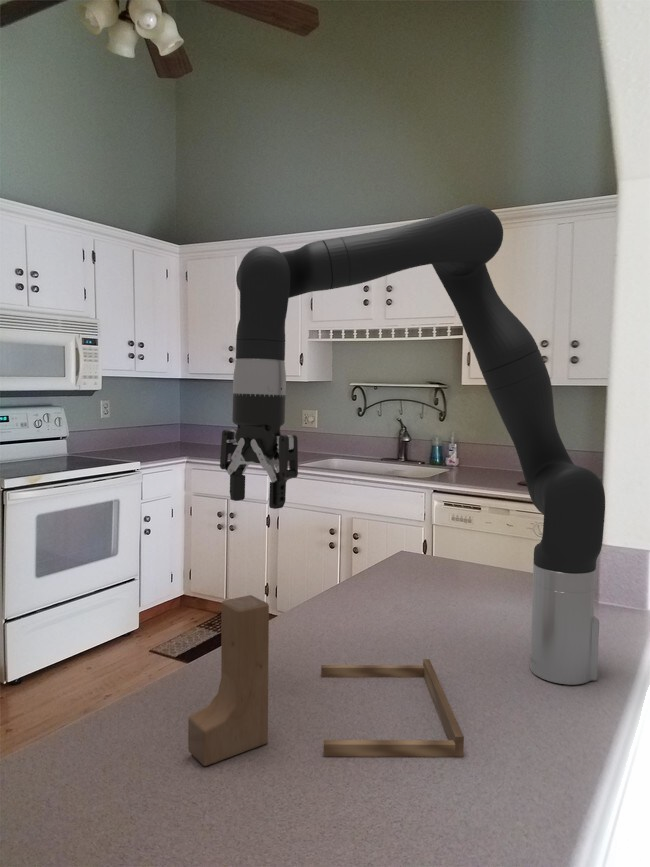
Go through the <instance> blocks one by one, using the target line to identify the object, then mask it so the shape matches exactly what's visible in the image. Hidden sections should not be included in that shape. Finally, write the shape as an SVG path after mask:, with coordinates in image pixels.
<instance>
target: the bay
mask: <svg viewBox="0 0 650 867" xmlns="http://www.w3.org/2000/svg"><path fill="white" fill-rule="evenodd" d="M320 669H321V670H320V677H321V678H424V681H425V684H426V687H427V688H428V691H429V694H430V696H431V699H432V702H433V704H434V707H435V710H436V712H437V714H438V717H439V719H440V723H441V725H442V727H443V729H444V730H443V731H444V732H445V734H446V737H447V739H444V740H443V739H437V740H435V739H431V740H430V739H425V740H424V739H423V740H421V739H416V740H415V739H412V740H411V739H405V740H404V739H396V740H395V739H387V740H386V739H323V757H361V758H362V757H370V758H371V757H373V758H374V757H376V758H377V757H385V758H386V757H397V758H398V757H399V758H400V757H403V758H404V757H406V758H407V757H410V758H411V757H412V758H414V757H420V758H421V757H423V758H424V757H426V758H427V757H428V758H429V757H435V758H436V757H438V758H439V757H443V758H444V757H446V758H447V757H449V758H450V757H452V758H454V757H455V758H456V757H457V758H459V757H461V758H462V757H464V745H465V744H464V743H465V742H464V741H465V736H464V734H463V732H462V729H461V726H460V725H459V723H458V720H457V718H456V716H455V713H454V712H453V708H452V707H451V705H450V702H449V700H448V697H447V696H446V693H445V691H444V688H443V687H442V685H441V682H440V680H439V677H438V675H437V673H436V671H435V669H434V666H433V663H432V661H431V660H430V658H422V665H420V664H419V665H417V664H413V665H412V664H410V665H405V664H402V665H401V664H400V665H399V664H395V665H392V664H387V665H386V664H380V665H379V664H377V665H375V664H321V665H320Z"/></svg>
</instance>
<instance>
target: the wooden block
mask: <svg viewBox="0 0 650 867" xmlns="http://www.w3.org/2000/svg"><path fill="white" fill-rule="evenodd" d="M269 609H270V605H269V603H267V602H266V601H264V600H261V599H260V598H258V597H256V596H253V595H251V594H248V595H243V596H240V597H235V598H230V599H225V600H223V601H221V620H220V621H221V632H220V633H221V640H220V641H221V643H220V644H221V645H220V646H221V647H220V648H221V651H220V652H221V654H220V655H221V657H220V658H221V661H220V662H221V664H220V665H221V668H220V669H221V670H220V672H221V673H220V675H221V678H220V682H219V685H218V691H217V694H215V696H214V697H213V699H212V701H211V702H210V703H209V704H208V705H207V706H206V707H204V708H202V709H201V710H198V711H197V712H195V713H192V714H191V715H189V716H188V719H187V724H188V725H187V726H188V727H187V730H188V736H187V738H188V740H187V741H188V742H187V743H188V746H187V747H188V748H187V749H188V752H189V753H190V754H191V756H193V757H194V758H195V759H196V760H197V762H199V763H200V764H201V765H202V766H204V767H207V766H210V765H213V764H215V763H218V762H221V761H223V760H226V759H229V758H232V757H234V756H236V755H237V756H238V755H239V754H240V755H241V754H242V753H246V752H248V751H250V750H253V749H255V748H258V747H261V746H264V745H266V744H267V743H268V741H269V640H270V639H269V638H270V637H269V636H270V635H269V634H270V633H269V629H270V628H269V627H270V626H269V623H270V622H269V621H270V620H269V619H270V617H269V616H270V610H269Z"/></svg>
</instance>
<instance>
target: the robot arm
mask: <svg viewBox="0 0 650 867" xmlns="http://www.w3.org/2000/svg"><path fill="white" fill-rule="evenodd" d="M503 239H504V228H503V225H502V222H501V219H500V218H499V217H498V215H497V213H495V212H494V211H493V210H491V209H490V208H488V207H487V206H484V205H480V204H472V203H471V204H465V205H463V206H460V207H457V208H454V209H451V210H449V211H447V212H443V213H441V214H438V215H435V216H432V217H429V218H426V219H422V220H418V221H416V222H415V221H414V222H412V223H409V224H408V223H407V224H405V225H404V224H403V225H400V226H395V227H391V228H384V229H381V230H376V231H371V232H364V233H359V234H353V235H352V234H351V235H345V236H339V237H335V238H334V237H333V238H327V239H322V240H317V241H313V242H309V243H306V244H305V245H303V246H301V247H300V248H297V249H292V250H288V251H282V252H280V251H279V250H278V249H276V248H274V247H271V246H266V245H265V246H264V245H262V246H257V247H255V248H253V249H251V250H250V251H248V252H247V253H246V254H245V255H244V256H243V258H242V259H241V262H240V264H239V266H238V268H237V271H236V275H235V276H236V278H235V279H236V280H235V281H236V282H235V283H236V286H237V289H238V291H239V319H238V324H237V328H236V333H235V334H236V335H235V336H236V339H235V342H236V343H235V361H234V362H235V364H234V370H233V377H232V382H233V383H232V414H231V416H232V419H231V420H232V423H233V424H235V425H237V428H236V429H223V430H222V433H221V443H220V458H219V459H220V460H219V461H220V462H219V468H220V469H221V470H225V471H226V472H227V474H228V475H229V495H230V497H229V498H230V500H231V501H233V502H238V501H243V500H245V498H246V475H244V474H245V473H246V471H247V469H248V467H249V466H250V465H251V464H253V463H255V464H260V465H261V467H262V469H264V470H265V471H266V473H267V475H268V478H270V479H269V480H270V482H269V497H268V498H269V499H268V504H269V505H268V507H269V508H270V509H273V510H275V509H282V508H283V507H284V506H285V503H286V499H287V498H286V493H287V492H286V491H287V490H286V489H287V482H288V481H289V480H291V479H295V478H298V476H299V475H298V474H299V467H298V466H299V464H298V463H299V462H298V461H299V460H298V459H299V457H298V456H299V453H298V452H299V451H298V450H299V449H298V446H299V444H298V436H297V435H296V434H282V433H281V427H282V426H284V424H285V422H286V390H287V374H286V373H287V372H286V362H285V361H286V360H285V359H286V319H287V313H288V305H289V299H290V298H293V297H297V296H300V295H305V294H308V293H312V292H321V291H328V290H329V291H330V290H334V289H340V288H345V287H351V286H356V285H360V284H364V283H367V282H370V281H374V280H377V279H380V278H383V277H386V276H389V275H393V274H395V273H398V272H399V273H400V272H402V271H405V270H409V269H413V268H417V267H422V266H426V265H427V266H428V265H431V266H432V267H433V269H434V271H435V274H436V275H437V276H438V277H437V278H438V279H439V281H440V282H441V284H442V286H443V288H444V289H445V291H446V293H447V295H448V297H449V299H450V300H451V302H452V304H453V306H454V309H455V310H456V313H457V315H458V317H459V320H460V322H461V324H462V327H463V330H464V333H465V336H466V337H467V340H468V342H469V344H470V346H471V349H472V352H473V354H474V356H475V358H476V361H477V363H478V367H479V371H480V373H481V374H482V376H483V378H484V382H485V384H486V387H487V389H488V390H489V393H490V396H491V397H492V401H493V402H494V404H495V407H496V409H497V411H498V413H499V416H500V418H501V419H502V420H501V421H502V422H503V424H504V427H505V429H506V431H507V433H508V435H509V437H510V438H511V441H512V443H513V445H514V448H515V450H516V454H517V457H518V460H519V462H520V463H519V464H520V467H521V470H522V474H523V477H524V481H525V484H526V487H527V491H528V493H529V494H528V495H529V497H530V499H531V502H532V504H533V505H534V507H535V508H536V510H537V511H539V513H541V514H542V516H543V523H542V526H543V527H542V537H541V540H540V542H539V543H537V544H536V545H535V546H534V548H533V549H534V550H533V568H532V594H531V596H532V598H531V623H530V624H531V626H530V628H531V629H530V632H531V633H530V654H529V660H530V664H529V669H530V671H531V672H532V673H533V675H535V676H536V677H538V678H540V679H543V680H545V681H547V682H551V683H555V684H561V685H562V684H563V685H569V686H570V685H575V686H576V685H582V684H587V683H589V682H590V681H598V665H599V645H600V644H599V643H600V642H599V640H600V638H599V637H600V620H599V619H598V617H596V616H595V602H596V601H595V599H596V596H595V595H596V573H597V560H598V557H599V555H600V553H601V551H602V547H603V540H604V528H605V527H604V526H605V514H606V493H605V488H604V486H603V482H602V480H601V479H600V478H599V476H598V475H597V474H596V473H594V472H593V471H592V470H590V469H588V468H585V467H583V466H579V465H576V464H574V462H573V460H572V458H571V456H570V455H569V453H568V450H567V448H566V447H565V445H564V442H563V440H562V438H561V436H560V432H559V431H558V427H557V424H556V419H555V407H554V396H553V387H552V382H551V377H550V374H549V371H548V368H547V366H546V363H545V361H544V358H543V357H542V353H541V351H540V349H539V346H538V344H537V342H536V340H535V338H534V337H533V335H532V334H531V332H530V331H529V330H528V328H527V327H526V326H525V325H524V324H523V323H522V322H521V320H520V319H519V318H518V317H517V316H516V315H515V314H514V313H513V312H512V311H511V310H510V309H509V308H508V306H507V305H506V304H505V303H504V302H503V300H502V299H501V297H500V296H499V294H498V292H497V290H496V288H495V286H494V284H493V280H492V278H491V275H490V273H489V271H488V267H487V263H489V261H491V260H492V259H493V258H494V257H495V256H496V254H497V253H498V252H499V250H500V249H501V247H502V243H503V241H504V240H503ZM229 454H230V460H229V459H228V458H229ZM288 462H289V463H288ZM288 464H289V469H288Z"/></svg>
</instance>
